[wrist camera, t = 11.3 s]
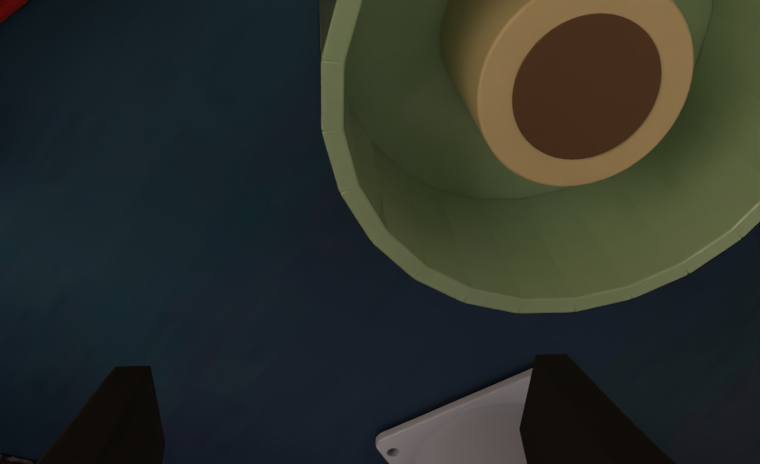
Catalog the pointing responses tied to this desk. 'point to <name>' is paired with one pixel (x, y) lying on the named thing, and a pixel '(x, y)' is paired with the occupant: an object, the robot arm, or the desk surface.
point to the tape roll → (569, 81)
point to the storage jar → (13, 460)
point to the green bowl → (524, 197)
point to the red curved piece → (9, 7)
